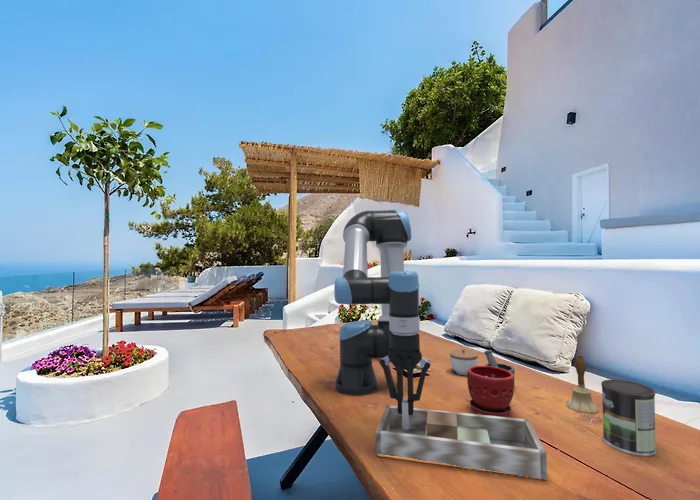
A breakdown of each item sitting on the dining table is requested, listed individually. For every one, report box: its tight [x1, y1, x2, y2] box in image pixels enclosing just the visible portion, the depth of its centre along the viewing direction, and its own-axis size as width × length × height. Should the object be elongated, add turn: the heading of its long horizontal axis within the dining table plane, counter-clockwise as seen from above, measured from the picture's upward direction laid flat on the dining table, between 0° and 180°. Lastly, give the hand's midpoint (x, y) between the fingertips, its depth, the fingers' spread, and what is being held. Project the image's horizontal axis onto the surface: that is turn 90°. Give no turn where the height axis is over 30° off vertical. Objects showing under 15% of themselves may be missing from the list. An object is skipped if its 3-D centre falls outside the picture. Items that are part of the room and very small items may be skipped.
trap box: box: [375, 405, 548, 480], centre depth 84 cm, size 36×15×6 cm, turn 75°
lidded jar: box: [449, 348, 479, 376], centre depth 139 cm, size 11×11×9 cm
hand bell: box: [565, 354, 600, 414], centre depth 106 cm, size 8×8×16 cm
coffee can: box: [601, 379, 657, 457], centre depth 85 cm, size 10×10×14 cm
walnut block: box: [426, 411, 458, 440], centre depth 85 cm, size 7×7×4 cm
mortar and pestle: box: [483, 349, 516, 378], centre depth 124 cm, size 11×9×12 cm
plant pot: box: [466, 365, 515, 417], centre depth 104 cm, size 13×13×12 cm
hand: (405, 426), depth 87 cm, fingers closed
